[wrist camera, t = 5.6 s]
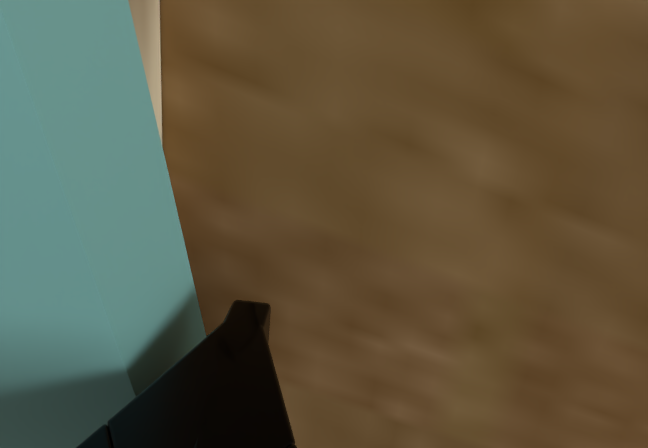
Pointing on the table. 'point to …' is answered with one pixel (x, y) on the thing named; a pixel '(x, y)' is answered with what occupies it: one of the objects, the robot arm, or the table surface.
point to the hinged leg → (83, 225)
